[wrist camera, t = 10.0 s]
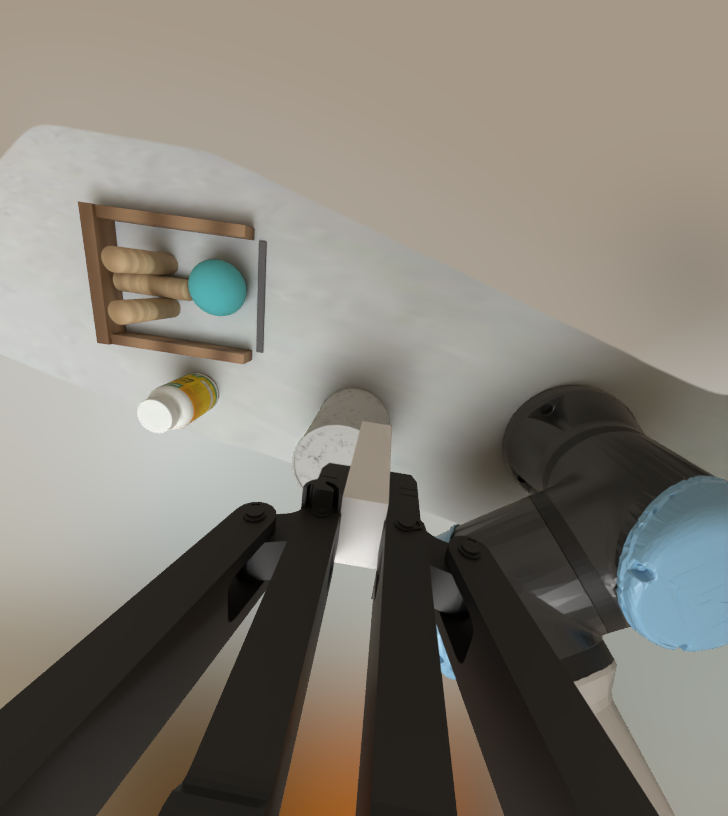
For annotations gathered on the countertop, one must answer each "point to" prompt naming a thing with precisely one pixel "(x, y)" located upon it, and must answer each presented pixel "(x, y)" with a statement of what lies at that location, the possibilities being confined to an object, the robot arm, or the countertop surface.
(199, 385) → the supplement bottle
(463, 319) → the countertop surface
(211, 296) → the ball
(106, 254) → the pin
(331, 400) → the speckled white cylinder
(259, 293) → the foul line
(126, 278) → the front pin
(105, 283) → the frame
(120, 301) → the pin
